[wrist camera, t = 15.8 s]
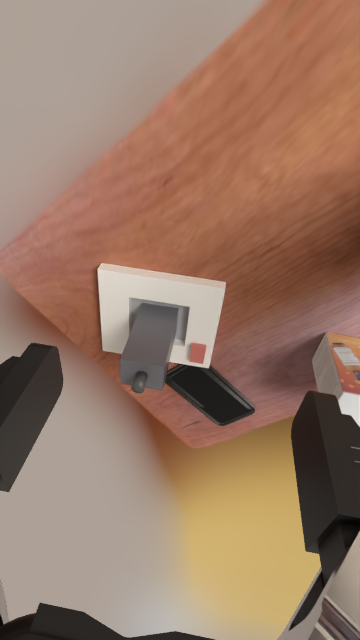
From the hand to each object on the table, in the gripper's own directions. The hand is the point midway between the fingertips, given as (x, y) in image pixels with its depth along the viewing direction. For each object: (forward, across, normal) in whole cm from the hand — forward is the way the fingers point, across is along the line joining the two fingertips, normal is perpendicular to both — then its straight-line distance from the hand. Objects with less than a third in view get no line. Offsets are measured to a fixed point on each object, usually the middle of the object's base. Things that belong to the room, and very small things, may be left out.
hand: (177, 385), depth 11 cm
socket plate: (+30, +5, +21) cm, 37 cm away
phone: (+31, -4, +35) cm, 47 cm away
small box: (+30, -21, +22) cm, 43 cm away
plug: (+30, +5, +21) cm, 37 cm away
